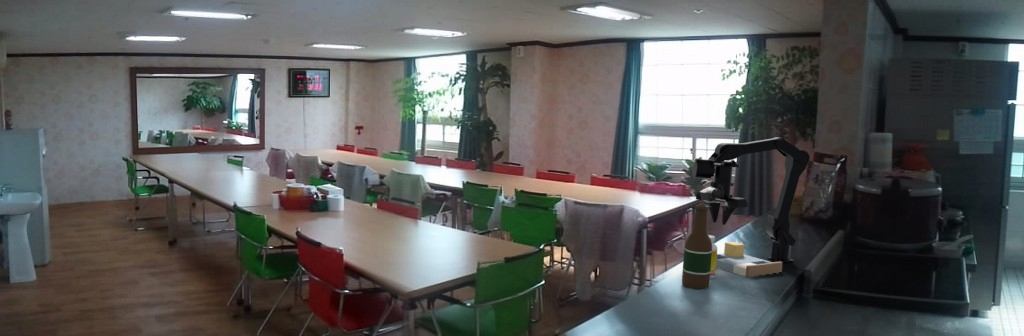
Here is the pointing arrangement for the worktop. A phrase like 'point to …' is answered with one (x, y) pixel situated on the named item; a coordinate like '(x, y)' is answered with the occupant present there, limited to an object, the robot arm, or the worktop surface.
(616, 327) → the worktop surface
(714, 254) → the supplement bottle
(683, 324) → the worktop surface
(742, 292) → the worktop surface
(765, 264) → the board
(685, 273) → the beer bottle
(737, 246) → the block
